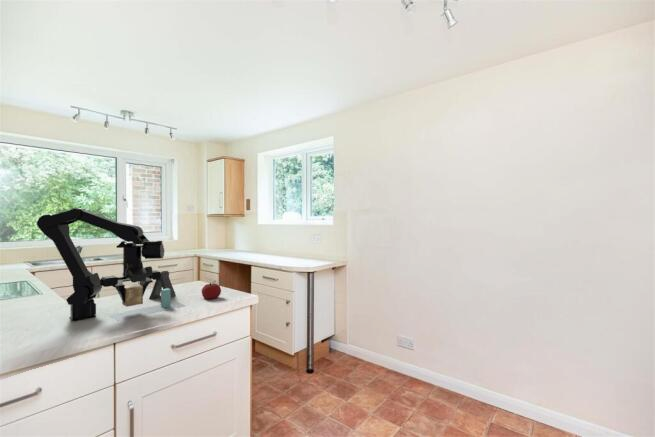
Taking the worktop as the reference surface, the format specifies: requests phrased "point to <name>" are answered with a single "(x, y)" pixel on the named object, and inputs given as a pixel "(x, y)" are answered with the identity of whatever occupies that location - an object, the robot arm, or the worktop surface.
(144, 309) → the board
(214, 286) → the red apple
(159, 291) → the phone stand
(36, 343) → the worktop surface
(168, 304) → the post
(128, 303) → the wooden block
